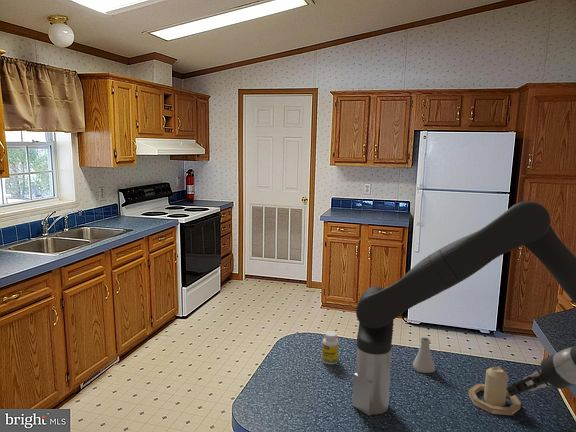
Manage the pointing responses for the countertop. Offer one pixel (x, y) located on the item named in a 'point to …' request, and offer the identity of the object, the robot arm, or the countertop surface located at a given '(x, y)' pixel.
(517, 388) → the robot arm
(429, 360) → the flask
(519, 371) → the countertop surface
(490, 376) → the candle
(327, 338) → the supplement bottle
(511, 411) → the maple ring
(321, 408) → the countertop surface
